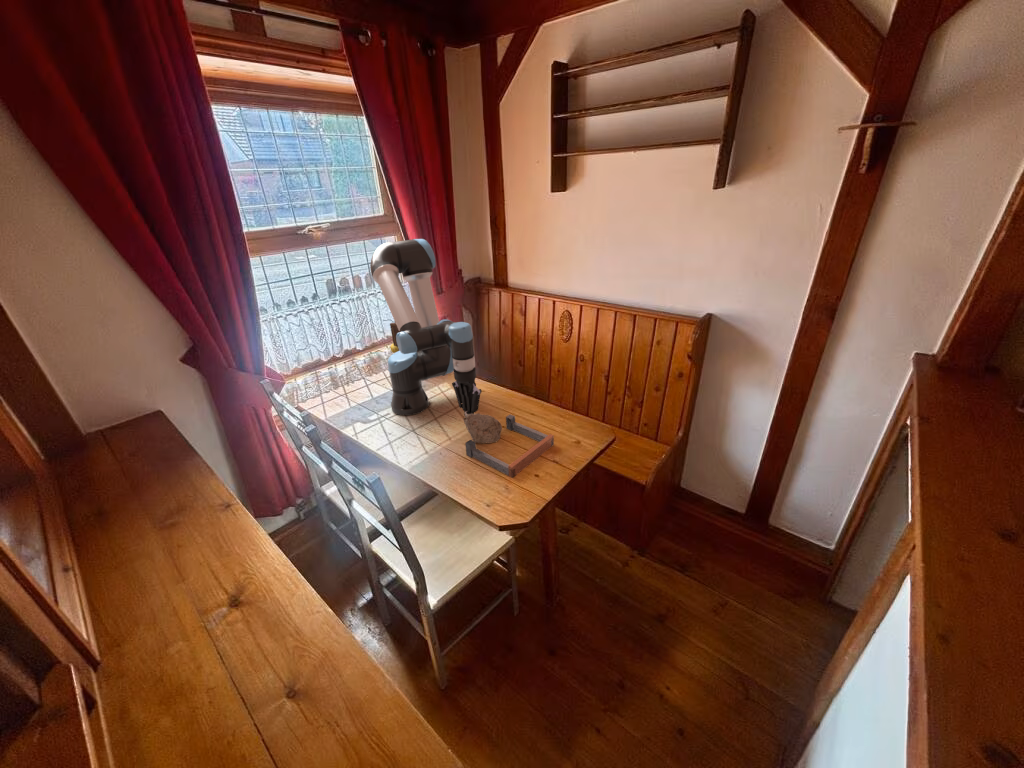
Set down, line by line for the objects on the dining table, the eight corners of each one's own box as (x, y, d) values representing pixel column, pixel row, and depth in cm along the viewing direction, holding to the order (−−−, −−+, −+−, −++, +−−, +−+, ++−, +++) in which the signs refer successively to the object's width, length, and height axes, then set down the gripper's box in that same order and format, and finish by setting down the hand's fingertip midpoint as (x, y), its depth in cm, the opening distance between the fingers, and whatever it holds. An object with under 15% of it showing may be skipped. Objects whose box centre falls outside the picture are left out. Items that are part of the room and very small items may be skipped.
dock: (466, 455, 143) (465, 442, 141) (510, 425, 158) (510, 414, 156) (511, 478, 131) (510, 465, 129) (554, 444, 147) (554, 432, 144)
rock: (498, 411, 156) (505, 414, 149) (496, 438, 157) (503, 443, 149) (461, 410, 151) (466, 414, 144) (460, 439, 152) (465, 444, 145)
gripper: (443, 367, 146) (451, 425, 157) (469, 376, 138) (475, 436, 149) (459, 359, 151) (465, 416, 162) (485, 368, 143) (490, 427, 154)
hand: (470, 426), depth 155 cm, fingers closed
